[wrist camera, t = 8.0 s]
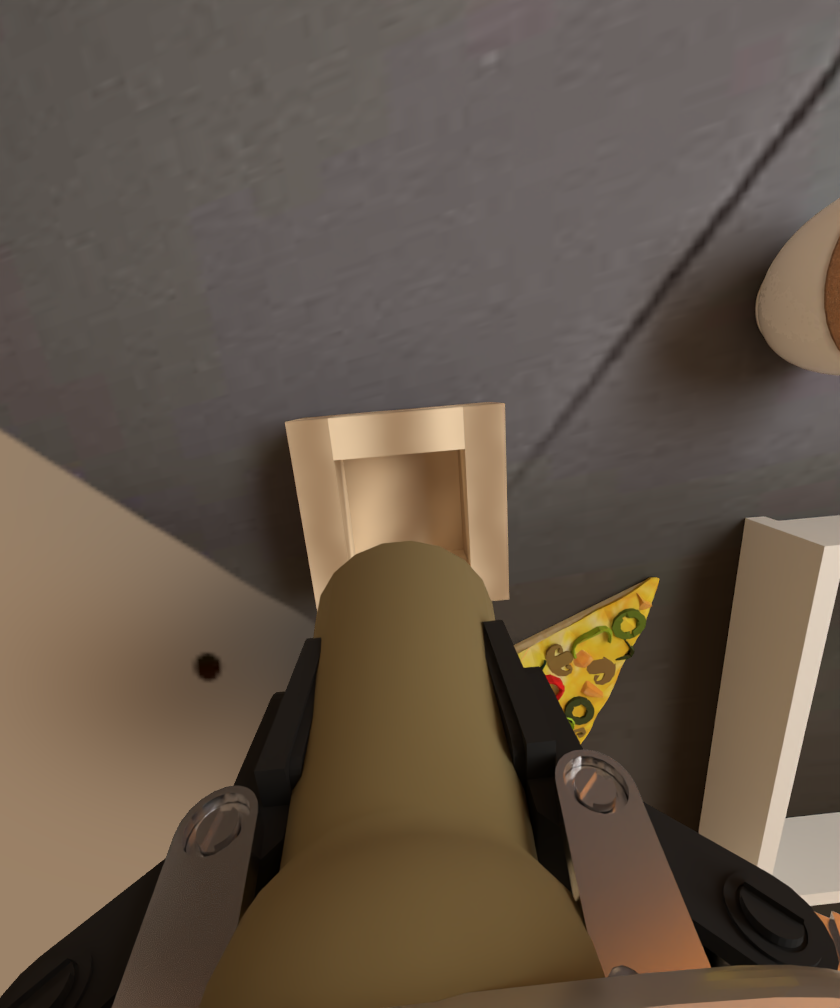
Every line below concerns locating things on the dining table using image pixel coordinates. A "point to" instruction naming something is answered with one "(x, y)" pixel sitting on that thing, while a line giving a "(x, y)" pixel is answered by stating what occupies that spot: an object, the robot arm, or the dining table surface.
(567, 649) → the pizza slice
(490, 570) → the caddy
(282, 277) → the dining table surface
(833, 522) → the white rectangular frame
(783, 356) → the lidded jar
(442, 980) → the cork
